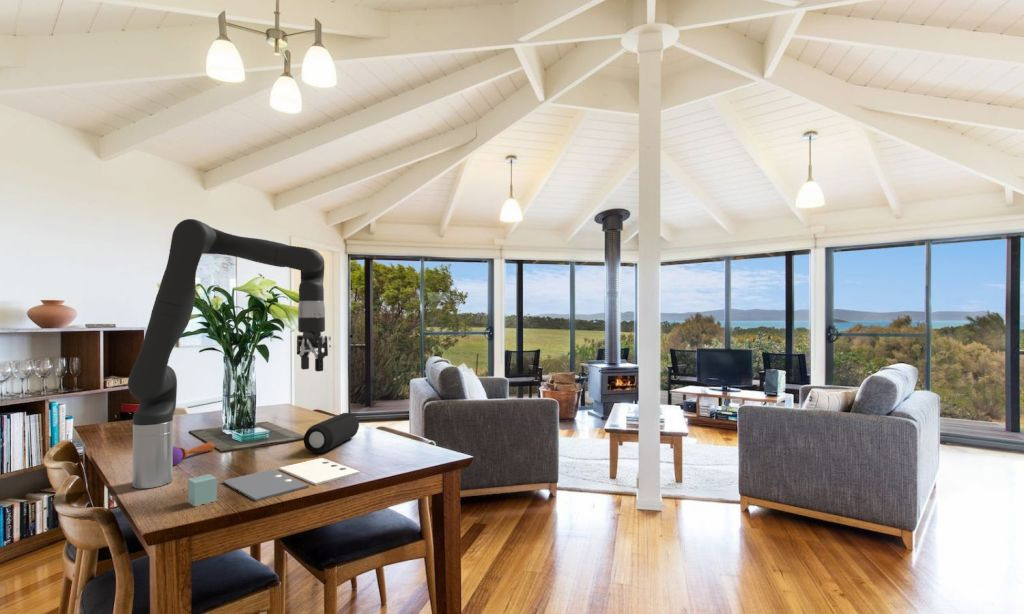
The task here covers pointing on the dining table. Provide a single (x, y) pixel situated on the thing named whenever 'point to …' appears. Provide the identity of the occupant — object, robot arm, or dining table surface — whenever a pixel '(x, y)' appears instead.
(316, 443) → the portable speaker
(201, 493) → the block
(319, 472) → the three dot pad
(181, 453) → the kendama
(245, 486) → the two dot pad
